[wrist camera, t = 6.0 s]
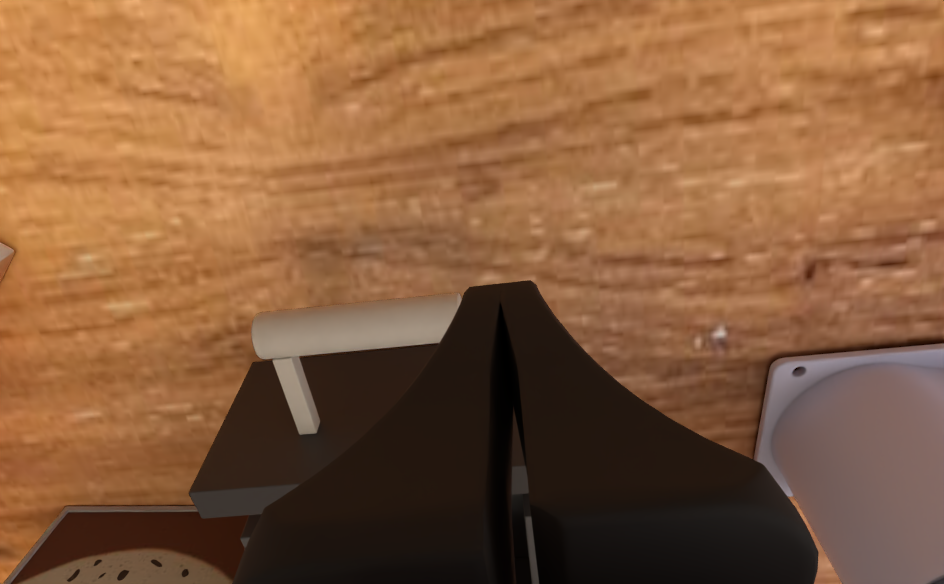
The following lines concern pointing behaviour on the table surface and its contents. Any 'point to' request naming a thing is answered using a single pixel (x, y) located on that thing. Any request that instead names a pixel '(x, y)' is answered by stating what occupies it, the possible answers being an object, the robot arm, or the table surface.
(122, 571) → the food container
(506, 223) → the table surface
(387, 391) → the dark drawer with handle
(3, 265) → the small box
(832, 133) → the table surface
